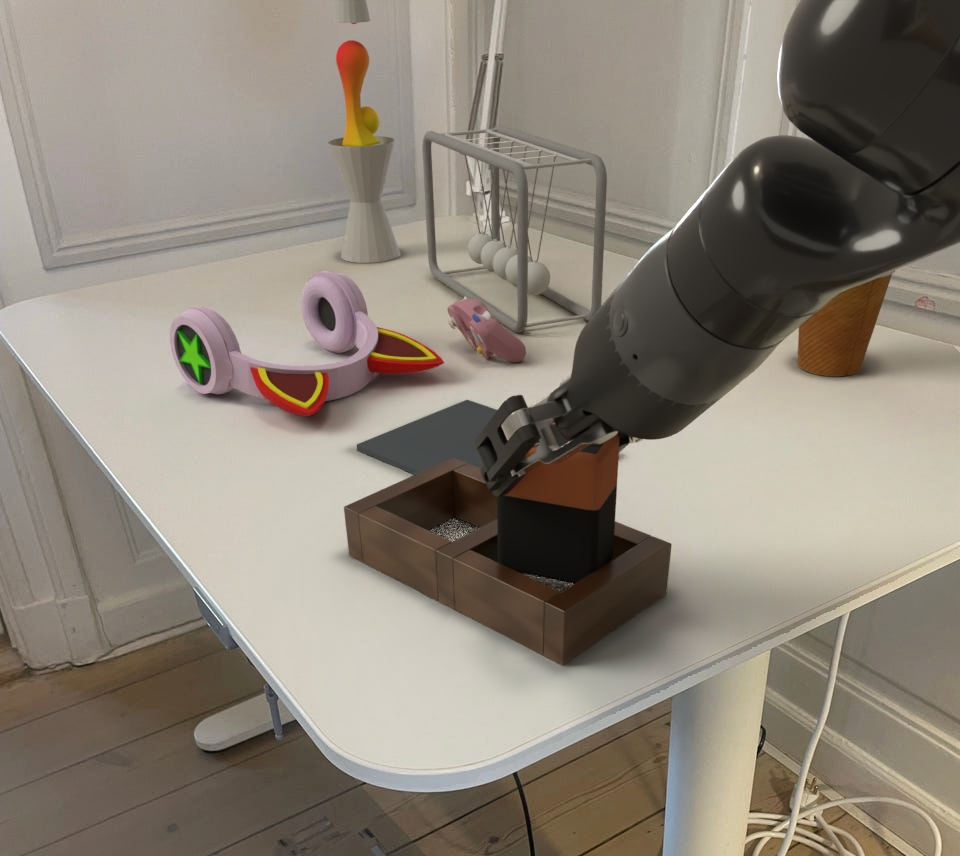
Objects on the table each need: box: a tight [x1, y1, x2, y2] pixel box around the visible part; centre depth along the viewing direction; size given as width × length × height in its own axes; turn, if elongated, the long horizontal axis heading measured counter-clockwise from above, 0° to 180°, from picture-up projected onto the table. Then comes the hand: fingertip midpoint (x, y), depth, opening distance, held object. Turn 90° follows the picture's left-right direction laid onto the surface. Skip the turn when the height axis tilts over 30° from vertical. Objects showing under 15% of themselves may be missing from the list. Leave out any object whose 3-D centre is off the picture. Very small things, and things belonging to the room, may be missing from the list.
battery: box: [497, 423, 620, 585], centre depth 63 cm, size 4×7×10 cm, turn 67°
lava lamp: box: [327, 0, 401, 264], centre depth 135 cm, size 9×9×35 cm
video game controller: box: [446, 296, 527, 363], centre depth 107 cm, size 10×5×7 cm, turn 23°
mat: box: [356, 399, 498, 475], centre depth 87 cm, size 18×14×1 cm
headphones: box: [169, 270, 445, 417], centre depth 100 cm, size 20×10×20 cm
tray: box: [343, 458, 673, 666], centre depth 69 cm, size 20×11×4 cm, turn 46°
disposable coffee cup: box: [796, 270, 896, 377], centre depth 100 cm, size 10×10×12 cm
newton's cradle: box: [421, 124, 608, 334], centre depth 120 cm, size 30×10×18 cm, turn 23°
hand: (544, 466), depth 63 cm, fingers closed on battery, 7 cm apart
